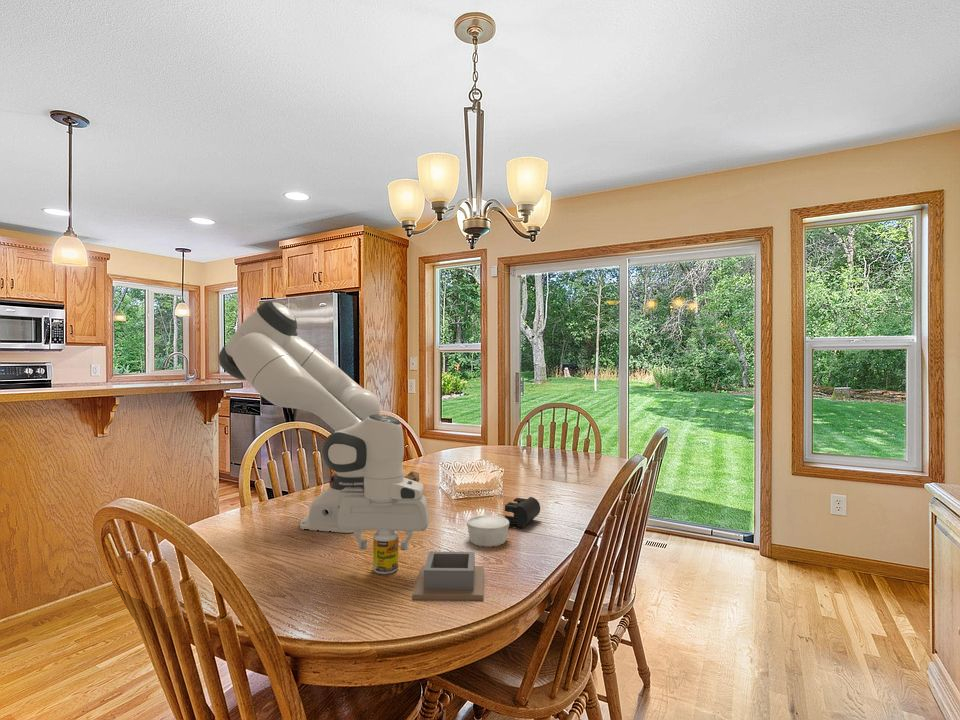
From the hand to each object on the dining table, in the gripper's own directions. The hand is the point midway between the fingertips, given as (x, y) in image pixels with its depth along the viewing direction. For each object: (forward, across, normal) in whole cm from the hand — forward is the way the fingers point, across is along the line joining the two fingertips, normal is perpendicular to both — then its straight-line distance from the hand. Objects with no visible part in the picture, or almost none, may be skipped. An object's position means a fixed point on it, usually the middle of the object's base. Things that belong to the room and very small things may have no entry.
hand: (383, 549), depth 116 cm
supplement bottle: (+5, 0, 0) cm, 5 cm away
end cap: (+5, +33, +34) cm, 47 cm away
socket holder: (+5, +16, -6) cm, 17 cm away
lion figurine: (+5, -7, +59) cm, 60 cm away
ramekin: (+5, +23, +20) cm, 31 cm away
